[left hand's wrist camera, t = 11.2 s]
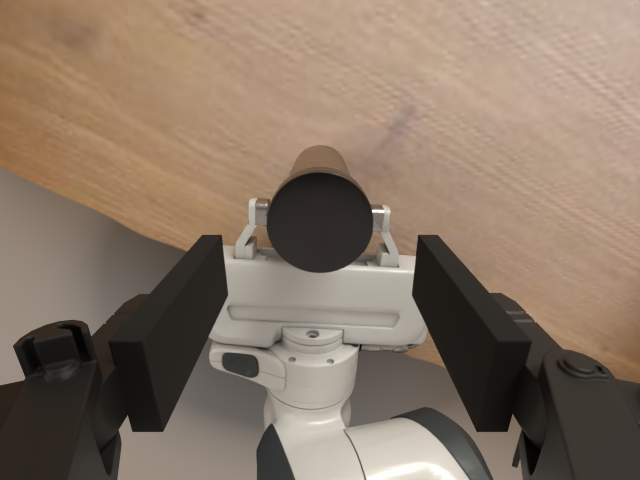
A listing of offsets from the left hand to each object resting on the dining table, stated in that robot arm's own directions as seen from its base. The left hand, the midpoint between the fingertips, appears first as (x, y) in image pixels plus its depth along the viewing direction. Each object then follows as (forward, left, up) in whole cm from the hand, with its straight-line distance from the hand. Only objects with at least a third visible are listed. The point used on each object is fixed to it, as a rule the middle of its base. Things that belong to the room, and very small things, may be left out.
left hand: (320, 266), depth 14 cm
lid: (0, 0, -5) cm, 5 cm away
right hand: (+1, -1, -14) cm, 14 cm away
